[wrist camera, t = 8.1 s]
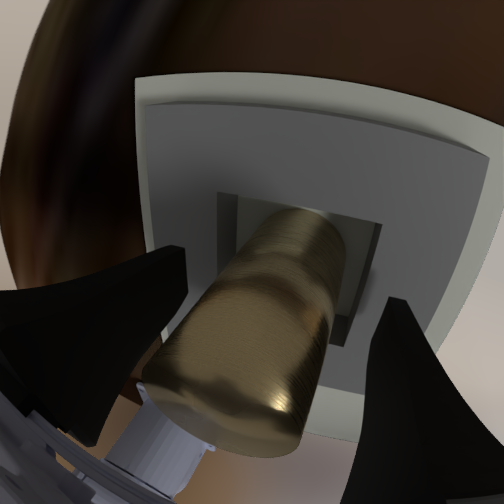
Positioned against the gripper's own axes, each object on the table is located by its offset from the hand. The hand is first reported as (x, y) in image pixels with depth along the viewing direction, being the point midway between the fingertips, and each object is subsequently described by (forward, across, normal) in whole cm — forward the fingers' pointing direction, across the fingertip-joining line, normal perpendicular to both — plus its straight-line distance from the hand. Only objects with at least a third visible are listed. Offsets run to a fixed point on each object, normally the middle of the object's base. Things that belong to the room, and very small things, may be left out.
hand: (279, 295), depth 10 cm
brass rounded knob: (+3, 0, 0) cm, 3 cm away
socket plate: (+4, 0, +4) cm, 6 cm away
